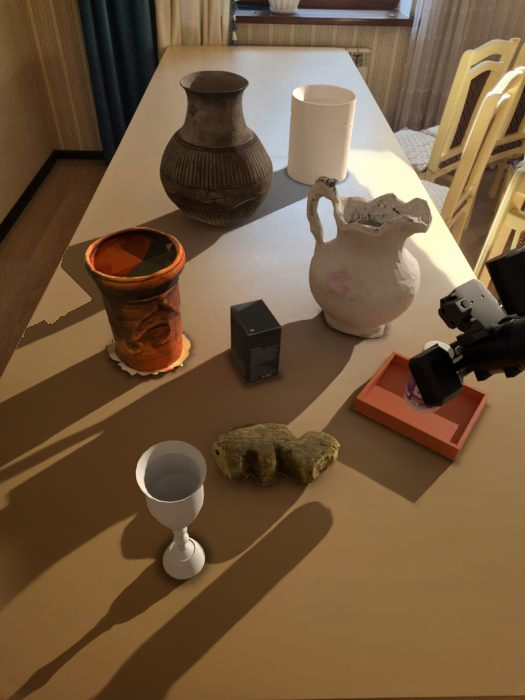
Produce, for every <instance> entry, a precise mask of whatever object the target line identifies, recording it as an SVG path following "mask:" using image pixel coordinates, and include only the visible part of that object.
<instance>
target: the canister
mask: <svg viewBox="0 0 525 700" xmlns="http://www.w3.org/2000/svg"><path fill="white" fill-rule="evenodd" d="M357 97H358V95H357V94H356V92H355V91H353V90H352V89H349V88H346V87H343V86H338V85H333V84H321V83H320V84H319V83H317V84H315V83H314V84H306V85H301V86H298V87H296V88H294V89H292V92H291V102H290V117H289V118H290V119H289V135H288V136H289V137H288V139H289V140H288V152H287V168H286V169H287V170H286V173H287V174H288V177H290V178H291V179H292V180H293V181H296V182H298V183H300V184H304V185H308V186H313V185H314V184H315V180H317V179H318V178H319V177H320V176H321V177H322V176H323V177H324V176H325V177H328V178H331V179H333V178H335V179H338V183H336V185H337V184H339V183H341V182H343V181H344V180H345V179H346V178H347V171H348V164H349V158H350V157H349V156H350V149H351V144H352V135H353V127H354V117H355V113H356V106H357Z"/></svg>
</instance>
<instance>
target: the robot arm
mask: <svg viewBox="0 0 525 700" xmlns="http://www.w3.org/2000/svg"><path fill="white" fill-rule="evenodd" d="M484 266H485V269H486V270H487V273H488V275H489V277H490V280H491V282H492V285H493V287H494V289H495V291H496V294H497V296H498V298H499V301H500V303H499V302H498V300H497V299H496V298H495V297H494V296H493V294H492V293H491V292H490V290H489V289H488V288H487V287H486V286H485V285H484V283H483V282H482V281H481V280H479V279H477V278H472V279H470V280H468V281H465V282H464V283H462V284H460V285H458V286H456V287H454V289H453V290H452V291H450V292H449V294H448V295H446V296H443V297H442V298H440V299H439V308H438V309H437V315H438V316H439V317H440V319H441V320H442V321H443V323H444V324H445V326H447V328H448V329H450V330H455V329H457V330H458V331H459V332H461V333H459V334H458V335H457V336H455V339H456V340H455V341H452V342H450V343H449V344H448V345H449V346H450V347H451V348H452V349H453V351H454V357H453V359H452V357H450V355H449V352H448V351H446V350H445V349H443V348H442V347H440V346H439V345H438V343H436V344H435V345H433V346H431V347H429V348H428V349H426V350H424V351H423V352H422V351H420V352H419V353H418V354H416V355H414V356H412V357H409V358H410V359H409V363H408V367H409V369H410V371H411V374H412V376H413V378H414V381H415V383H416V385H417V388H418V390H419V392H420V395H421V397H422V399H423V402H424V404H425V405H426V406H428V407H440V406H443V405H444V404H446V403H447V402H449V401H450V400H452V399H453V398H455V397H456V396H458V395H459V394H460V393H461V390H462V388H463V386H462V384H463V382H464V381H465V380H464V379H465V377H466V376H469V375H470V374H471V373H473V374H474V376H475V379H476V380H477V382H484V381H486V380H488V379H489V378H491V377H492V376H494V375H498V374H504V376H505V378H506V379H512V378H516V377H517V376H519V375H520V374H522V373H523V372H524V371H525V244H522V245H519V246H517V247H515V248H512V249H509V250H507V251H505V252H502V253H500V254H498V255H495V256H494V257H492V258H490V259H488V260H486V261H485V262H484ZM500 304H501V306H500ZM464 383H465V382H464Z"/></svg>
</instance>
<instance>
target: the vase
mask: <svg viewBox="0 0 525 700" xmlns="http://www.w3.org/2000/svg"><path fill="white" fill-rule="evenodd" d="M249 85H250V82H249V80H248V79H247V78H246V77H245V76H242V75H240V74H238V73H235V72H233V71H226V70H198V71H193V72H190V73H188V74H185V75H184V76H183V77H181V78H180V80H179V86H180V87H181V88H182V89H183V90H184V91H185V94H186V103H187V105H186V114H185V118H184V122H183V124H182V126H181V127H180V128H178V129H176V131H175V132H174V133H173V135H172V136H171V137H170V139H169V141H168V142H167V144H166V146H165V148H164V150H163V153H162V155H161V159H160V165H159V179H160V183H161V185H162V188H163V190H164V192H165V194H166V196H167V197H168V199H169V200H170V201H171V202H172V204H174V205H175V206H176V207H177V208H178V209H179V210H180V211H181V212H182V213H184V214H185V215H186V216H188V217H190V218H191V219H194V220H196V221H200V222H202V223H206V224H209V225H213V226H219V227H220V226H222V227H227V226H228V227H229V226H233V225H236V224H238V223H240V222H243V221H244V220H246V219H249V218H250V217H251V216H252V215H253V214H255V213H256V211H257V210H259V208H260V207H261V206H262V205H263V203H264V201H266V198H267V196H268V195H269V192H270V190H271V187H272V182H273V179H274V178H273V177H274V167H273V162H272V159H271V156H270V155H269V154H268V152H267V150H266V148H265V146H264V145H263V143H262V141H261V139H260V138H259V136H258V135H257V134H256V133H255V131H254V130H252V129H251V128H250V127H249V126H248V125H247V123H246V119H245V115H244V110H243V97H244V92H245V90H246V89H247V88H248V87H249Z"/></svg>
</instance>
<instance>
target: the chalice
mask: <svg viewBox="0 0 525 700" xmlns="http://www.w3.org/2000/svg"><path fill="white" fill-rule="evenodd" d="M136 464H137V465H136V469H135V477H136V482H137V484H138V486H139V488H140V490H141V491H142V492H143V493H144V496H145V501H146V505H147V508H148V510H149V513H150V514H151V516H152V517H154V518H155V519H156V520H157V521H158V522H159V523H160V524H161V525H162V526H164V527H167V528H169V529H171V530H172V533H173V534H174V535H173V540H172V542H170V544H169V545H168V547H166V549H165V551H164V553H163V557H162V564H163V569H164V570H165V572H166V573H167V574H168V575H169V576H170V577H172V578H174V579H176V580H188V579H191V578H193V577H195V576H197V575H198V574H199V573H200V572H201V571H202V569H203V567H204V565H205V561H206V553H205V550H204V548H203V546H202V545H201V544H200V543H199V542H198V541H196V540H194V539H193V538H191V537H189V536H190V535H189V533H188V526H190V525H191V524H192V523H193V522H194V521H195V520H196V518H197V516H198V515H199V513H200V510H201V509H202V507H203V505H204V497H205V494H204V482H205V480H206V477H207V470H208V467H207V464H206V458H205V457H204V456H203V454H202V453H201V451H200V450H198V448H197V447H195V446H194V445H192V444H190V443H188V442H185V441H181V440H173V439H171V440H165V441H161V442H158V443H156V444H154V445H152V446H150V447H149V448H148V449H147V450H146V451H144V452H143V453H142V455H141V456H140V458H139V460H138V462H137V463H136Z"/></svg>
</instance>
